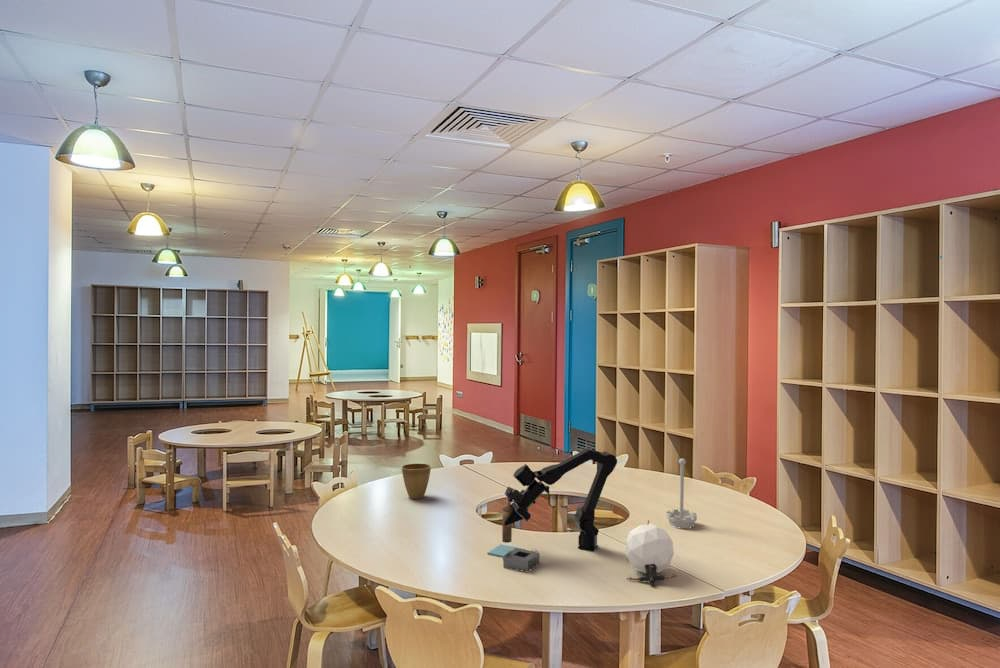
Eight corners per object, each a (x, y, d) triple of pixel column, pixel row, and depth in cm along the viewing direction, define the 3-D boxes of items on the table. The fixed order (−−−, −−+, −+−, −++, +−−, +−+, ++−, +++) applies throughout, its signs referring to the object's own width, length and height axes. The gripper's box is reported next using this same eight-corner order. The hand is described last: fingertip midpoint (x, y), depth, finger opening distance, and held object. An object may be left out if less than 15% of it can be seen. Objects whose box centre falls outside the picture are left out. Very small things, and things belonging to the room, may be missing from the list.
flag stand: (697, 530, 282) (699, 462, 281) (667, 528, 284) (668, 460, 284) (695, 521, 295) (696, 456, 294) (665, 519, 297) (666, 454, 297)
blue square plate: (525, 550, 255) (525, 549, 255) (512, 559, 245) (512, 557, 245) (500, 545, 260) (500, 544, 260) (487, 554, 250) (487, 552, 250)
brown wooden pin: (513, 541, 252) (514, 504, 252) (506, 543, 250) (506, 506, 249) (507, 538, 255) (507, 502, 255) (500, 540, 253) (500, 503, 252)
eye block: (539, 563, 241) (539, 552, 241) (527, 572, 233) (527, 561, 233) (515, 558, 246) (515, 547, 246) (503, 566, 237) (503, 556, 237)
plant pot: (434, 494, 336) (435, 464, 335) (424, 502, 321) (424, 470, 321) (408, 492, 339) (408, 462, 339) (396, 499, 325) (396, 468, 325)
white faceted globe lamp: (674, 544, 244) (666, 499, 233) (681, 601, 223) (673, 554, 212) (628, 547, 248) (618, 503, 237) (630, 603, 227) (620, 557, 216)
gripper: (512, 474, 262) (485, 502, 260) (522, 486, 244) (493, 516, 242) (531, 493, 264) (504, 521, 262) (542, 505, 245) (514, 536, 243)
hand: (503, 523), depth 252 cm, fingers closed on brown wooden pin, 4 cm apart
